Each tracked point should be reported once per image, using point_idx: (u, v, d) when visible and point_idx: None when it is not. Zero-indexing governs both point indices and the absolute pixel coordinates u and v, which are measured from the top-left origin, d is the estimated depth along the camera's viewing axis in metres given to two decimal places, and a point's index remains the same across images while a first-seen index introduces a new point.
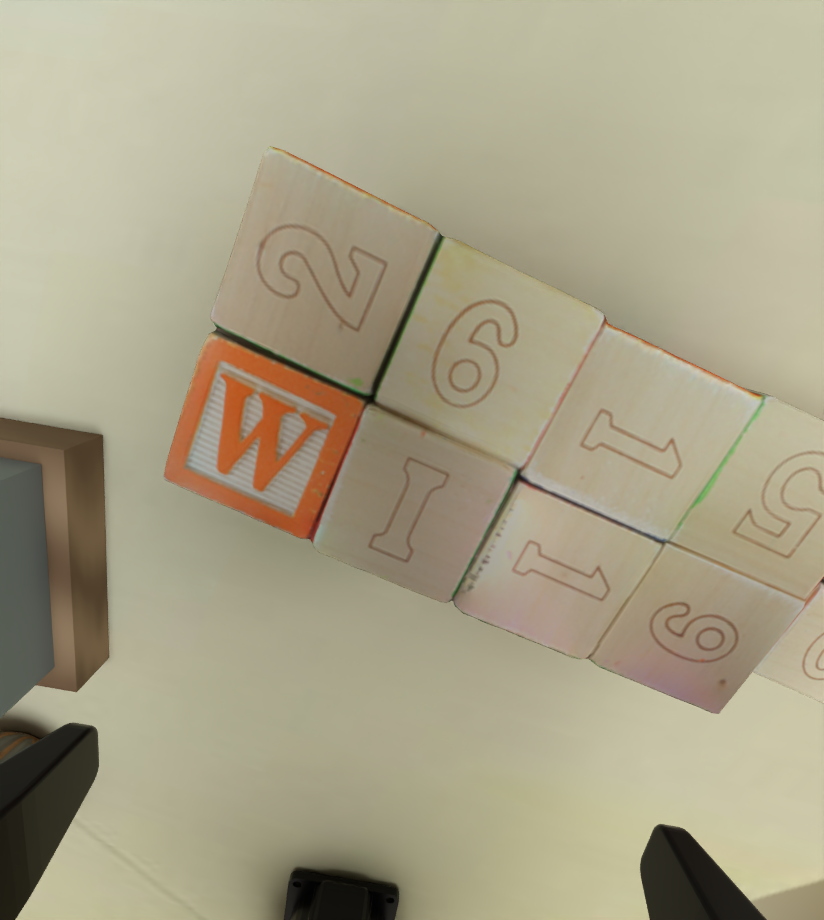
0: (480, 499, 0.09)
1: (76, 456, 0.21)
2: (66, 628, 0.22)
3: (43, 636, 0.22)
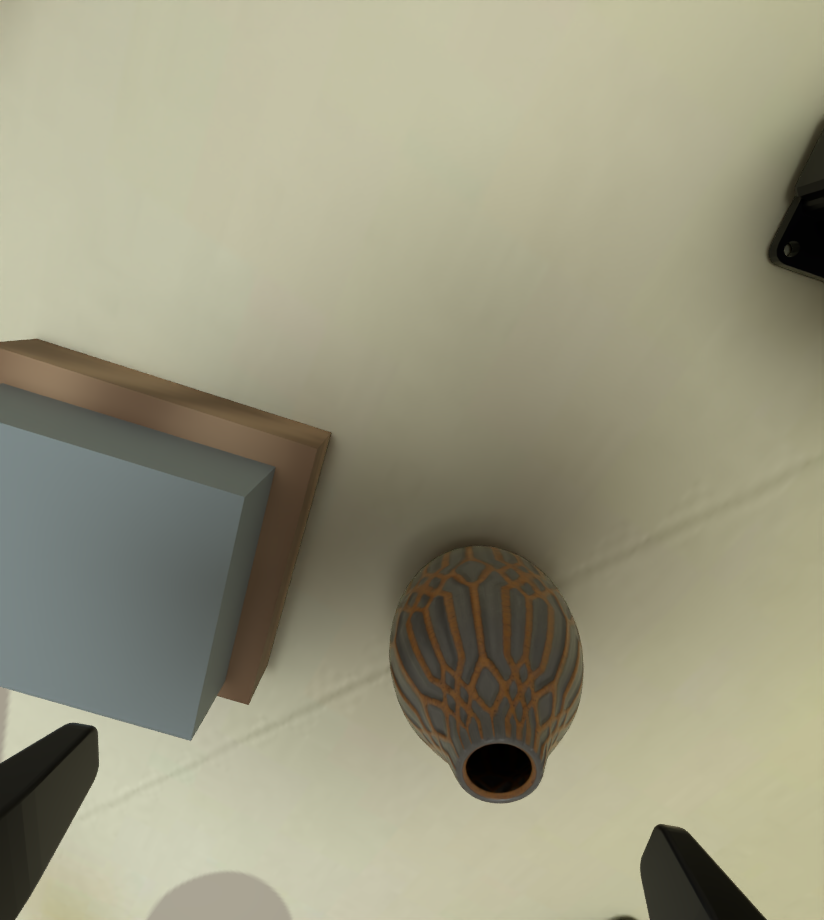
0: None
1: (14, 346, 0.18)
2: (221, 427, 0.18)
3: (213, 453, 0.17)
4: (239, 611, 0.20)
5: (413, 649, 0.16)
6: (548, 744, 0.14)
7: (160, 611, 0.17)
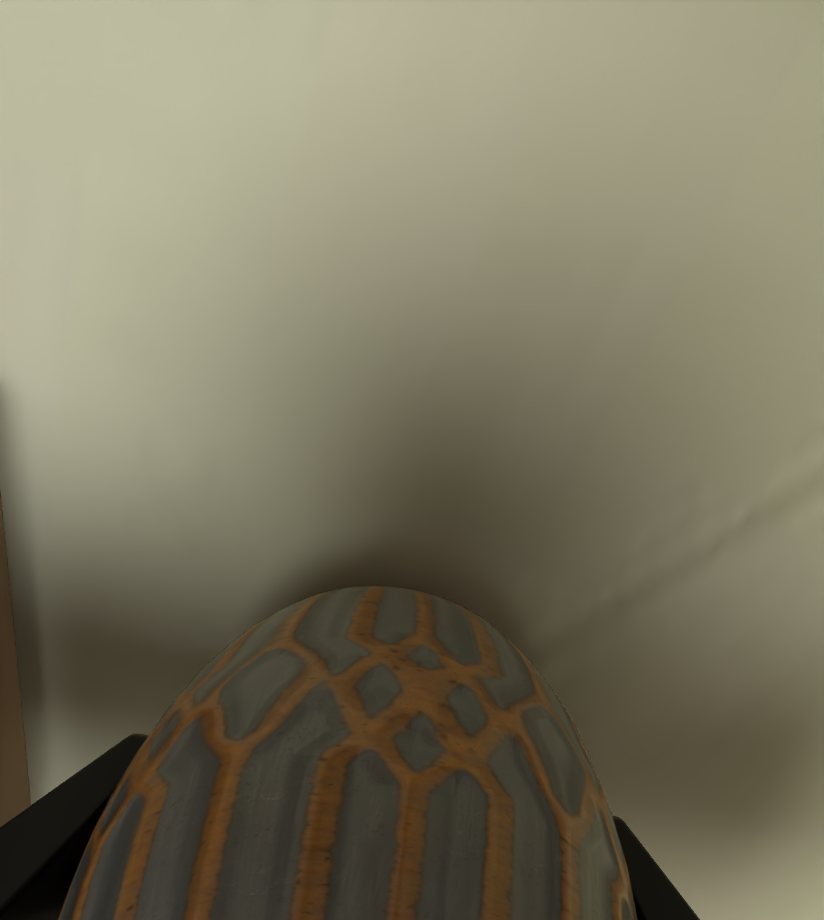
0: None
1: None
2: None
3: None
4: None
5: None
6: None
7: None
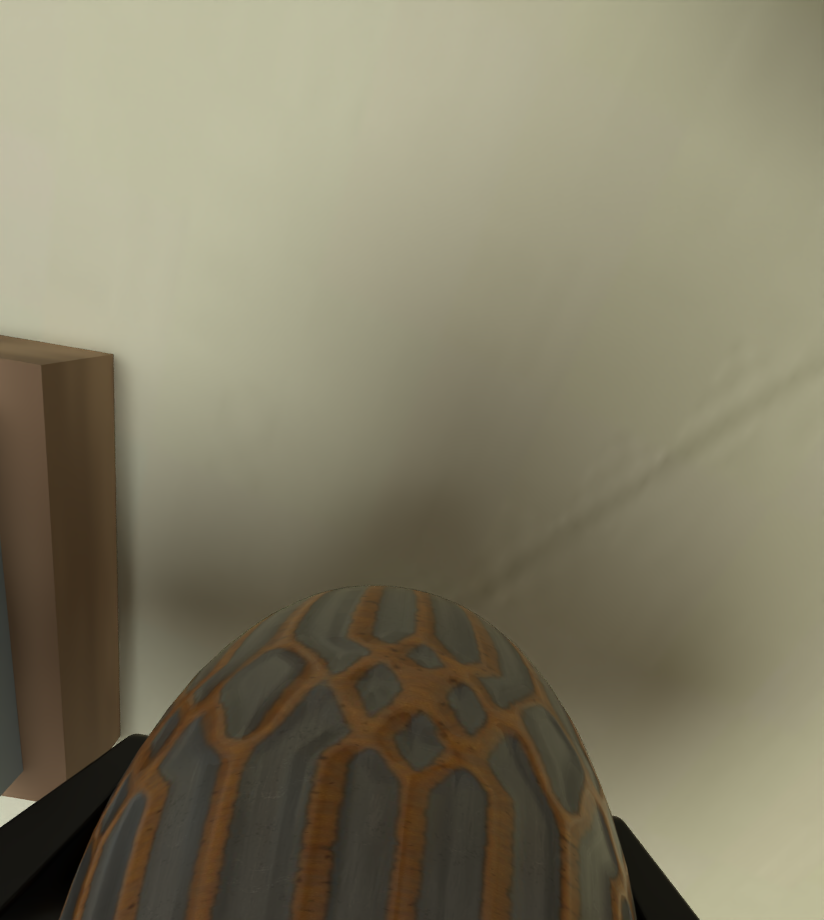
0: None
1: None
2: None
3: None
4: (0, 659, 0.12)
5: None
6: None
7: None
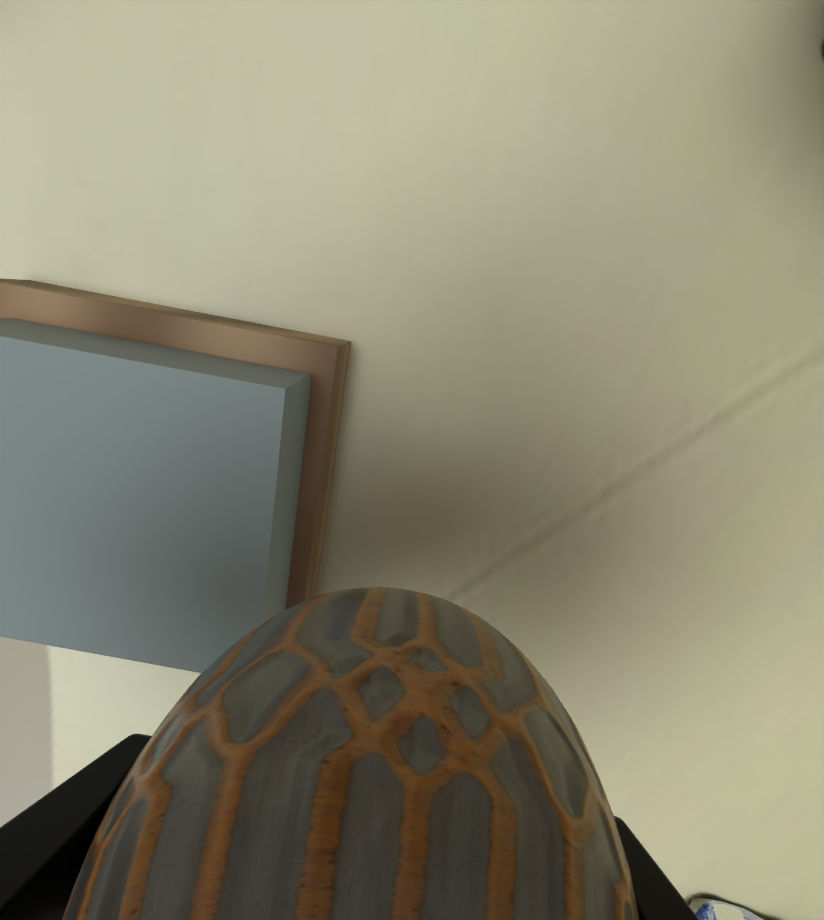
0: None
1: (4, 280, 0.17)
2: (231, 336, 0.16)
3: (243, 363, 0.16)
4: (290, 543, 0.18)
5: None
6: None
7: (207, 537, 0.15)
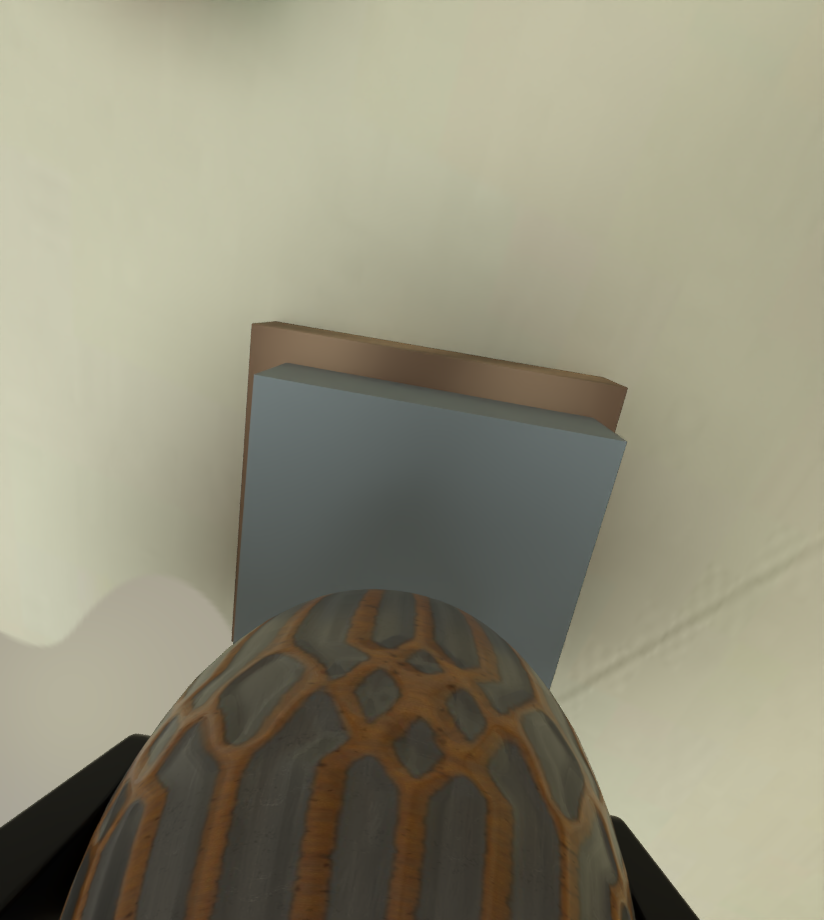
0: None
1: (273, 325, 0.16)
2: (517, 379, 0.16)
3: (532, 409, 0.16)
4: None
5: None
6: None
7: (513, 589, 0.15)
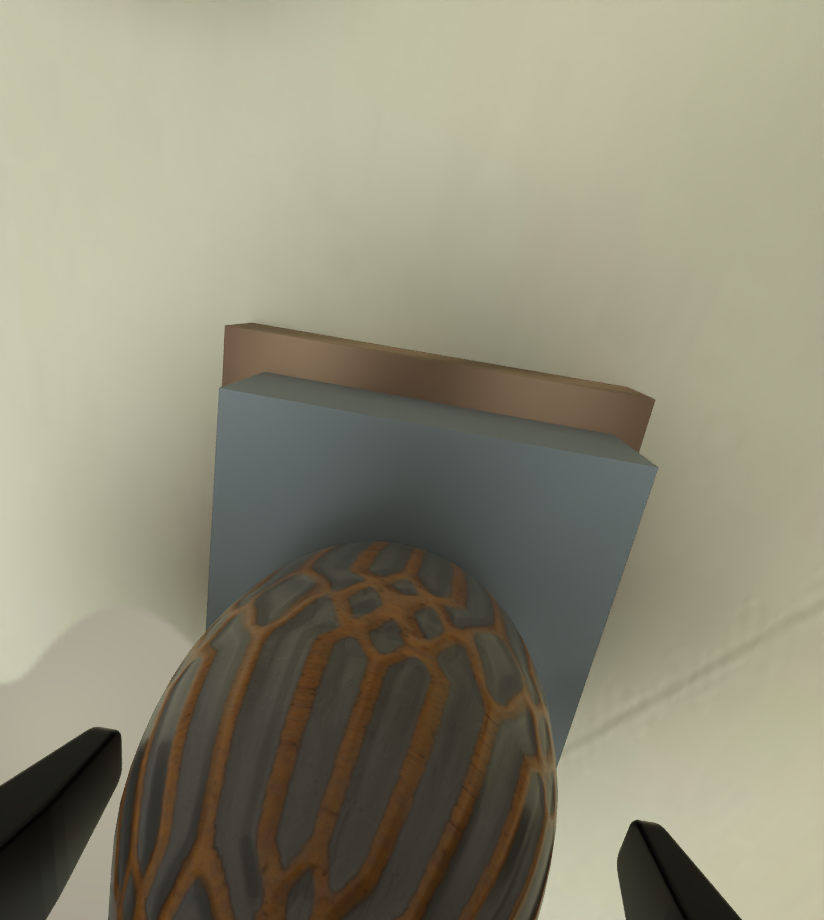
0: None
1: (251, 327, 0.14)
2: (528, 389, 0.14)
3: (544, 425, 0.14)
4: None
5: (129, 786, 0.07)
6: None
7: (522, 636, 0.13)
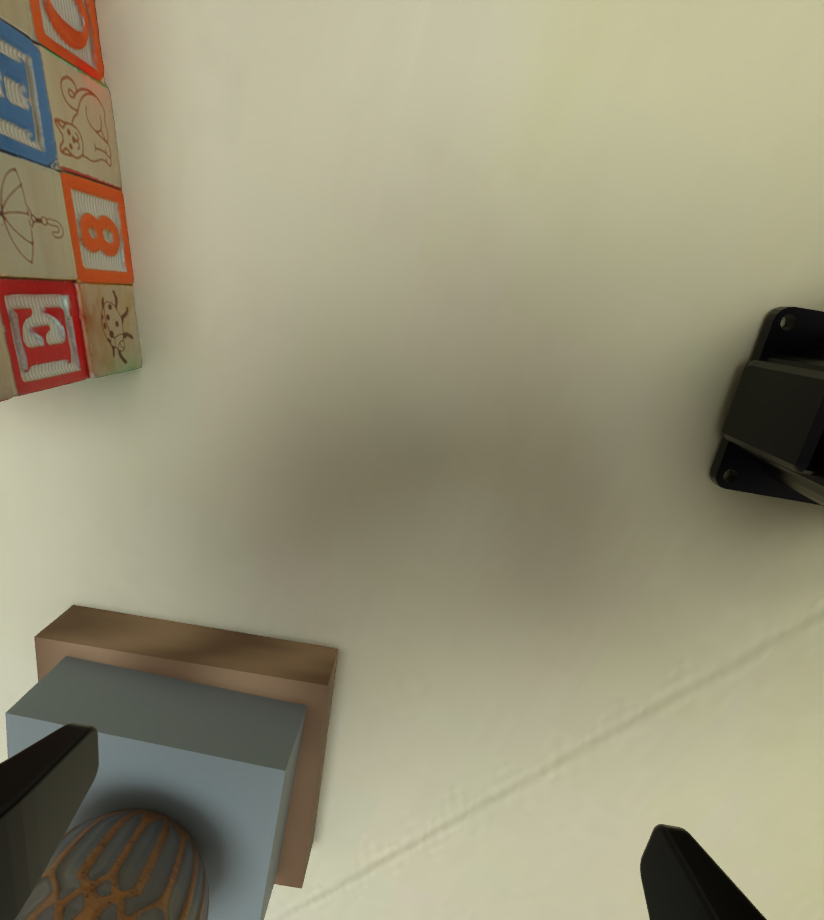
0: None
1: (58, 628, 0.21)
2: (242, 677, 0.20)
3: (252, 704, 0.20)
4: (285, 820, 0.22)
5: None
6: None
7: (220, 856, 0.19)
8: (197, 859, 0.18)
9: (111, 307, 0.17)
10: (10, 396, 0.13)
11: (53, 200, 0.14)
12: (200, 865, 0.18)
